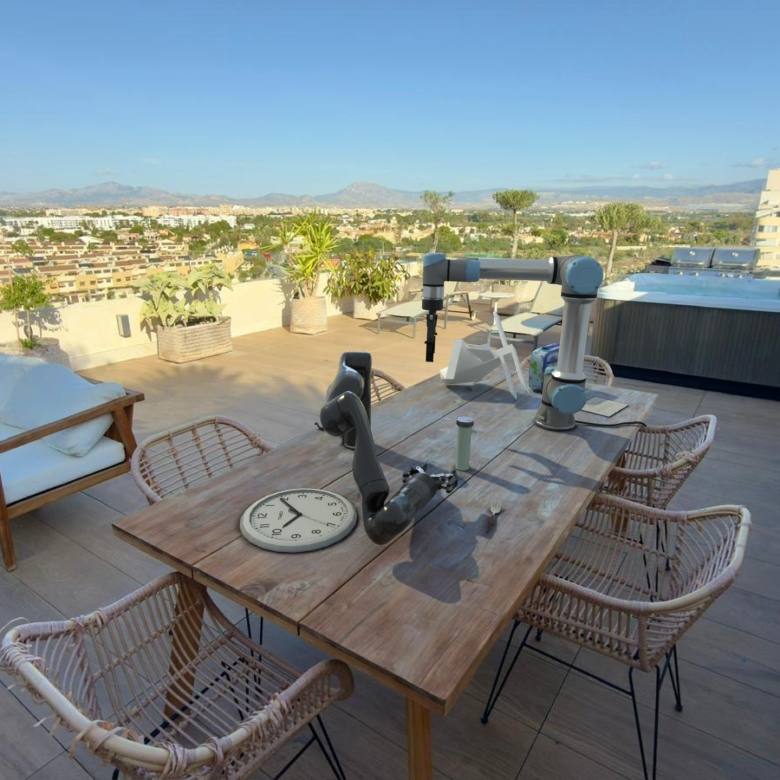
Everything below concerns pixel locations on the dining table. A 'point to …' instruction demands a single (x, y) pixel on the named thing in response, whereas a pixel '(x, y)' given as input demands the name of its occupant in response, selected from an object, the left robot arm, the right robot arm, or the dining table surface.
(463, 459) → the bottle
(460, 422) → the lid
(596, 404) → the invitation card
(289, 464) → the dining table surface
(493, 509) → the fork
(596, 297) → the right robot arm
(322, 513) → the wall clock
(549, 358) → the lunch box
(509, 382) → the white plastic object
